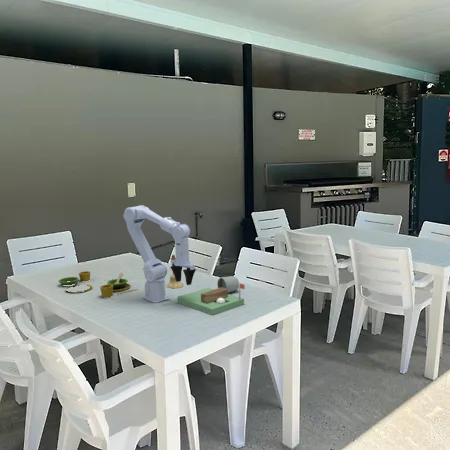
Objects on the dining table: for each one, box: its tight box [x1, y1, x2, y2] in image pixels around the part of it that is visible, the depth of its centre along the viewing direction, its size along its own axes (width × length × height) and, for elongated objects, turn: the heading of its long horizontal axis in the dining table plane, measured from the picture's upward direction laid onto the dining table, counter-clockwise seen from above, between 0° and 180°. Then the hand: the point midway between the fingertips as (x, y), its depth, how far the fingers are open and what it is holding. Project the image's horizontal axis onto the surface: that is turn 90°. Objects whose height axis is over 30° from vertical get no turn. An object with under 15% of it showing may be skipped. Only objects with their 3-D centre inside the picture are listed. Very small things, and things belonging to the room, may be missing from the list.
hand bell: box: [166, 254, 184, 289], centre depth 220 cm, size 8×8×16 cm
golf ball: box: [216, 298, 225, 304], centre depth 188 cm, size 4×4×4 cm
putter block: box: [201, 287, 229, 303], centre depth 191 cm, size 4×12×4 cm, turn 132°
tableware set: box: [58, 270, 138, 298], centre depth 223 cm, size 41×28×6 cm
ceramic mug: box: [216, 275, 240, 294], centre depth 210 cm, size 11×8×8 cm
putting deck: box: [176, 282, 246, 316], centre depth 192 cm, size 26×18×10 cm
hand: (183, 282), depth 193 cm, fingers open, 7 cm apart
